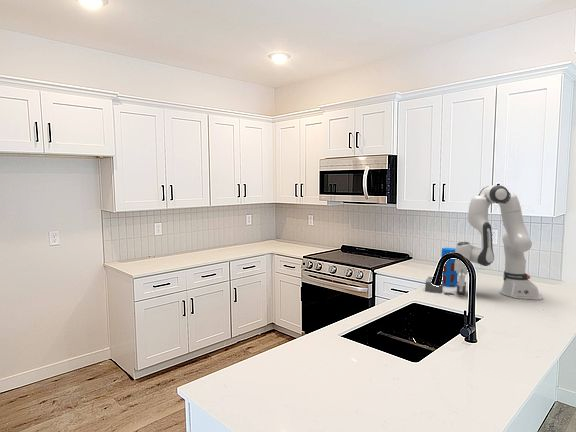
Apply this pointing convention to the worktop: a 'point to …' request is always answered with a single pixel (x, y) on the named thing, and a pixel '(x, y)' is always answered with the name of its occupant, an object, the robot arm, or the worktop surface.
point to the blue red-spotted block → (449, 270)
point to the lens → (462, 291)
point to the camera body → (432, 288)
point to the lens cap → (448, 293)
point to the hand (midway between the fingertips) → (460, 290)
